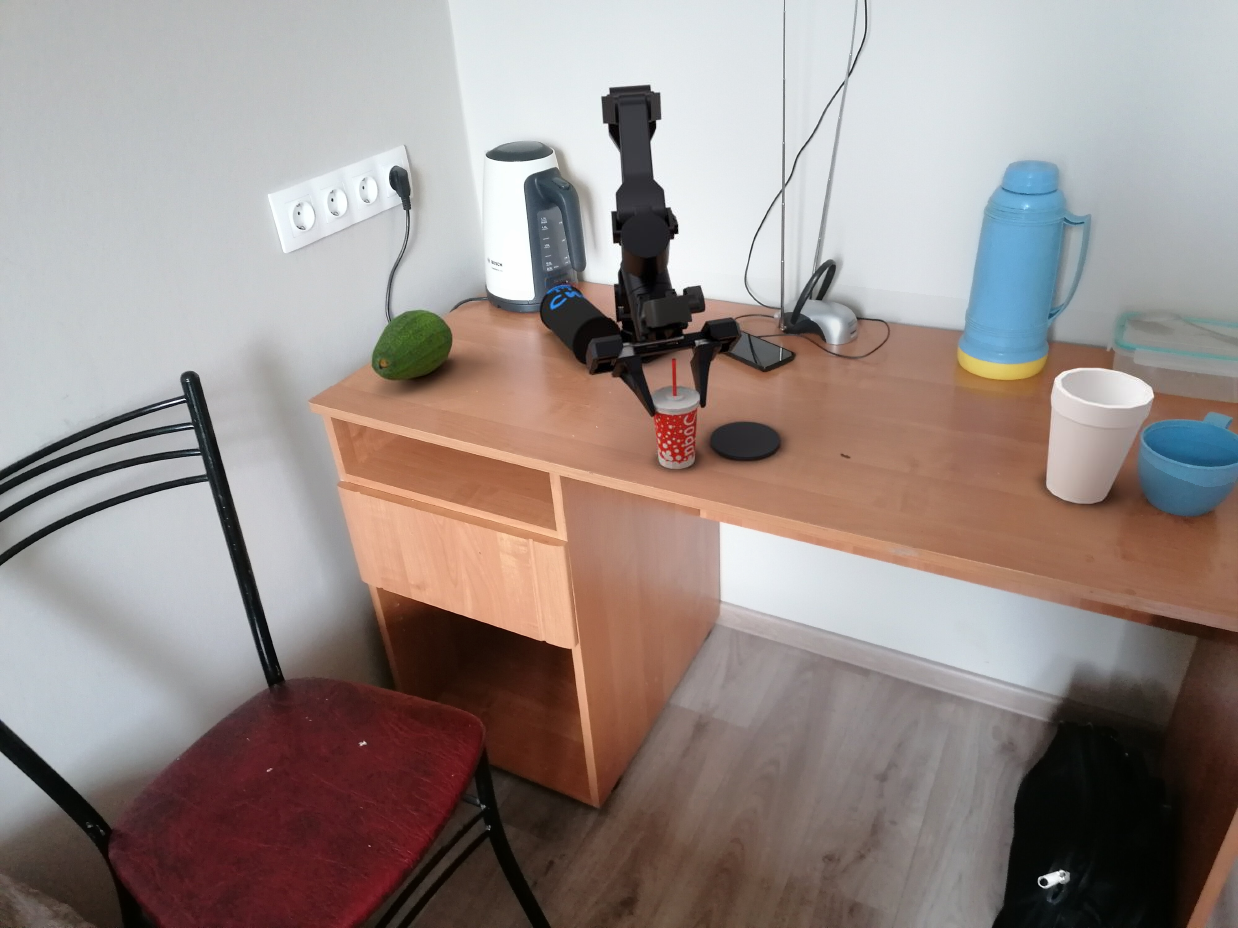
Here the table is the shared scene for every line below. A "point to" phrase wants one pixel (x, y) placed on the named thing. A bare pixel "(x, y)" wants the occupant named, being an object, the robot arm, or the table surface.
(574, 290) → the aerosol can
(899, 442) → the table surface
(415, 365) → the fruit
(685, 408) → the beverage cup
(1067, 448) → the foam cup
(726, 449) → the coaster
